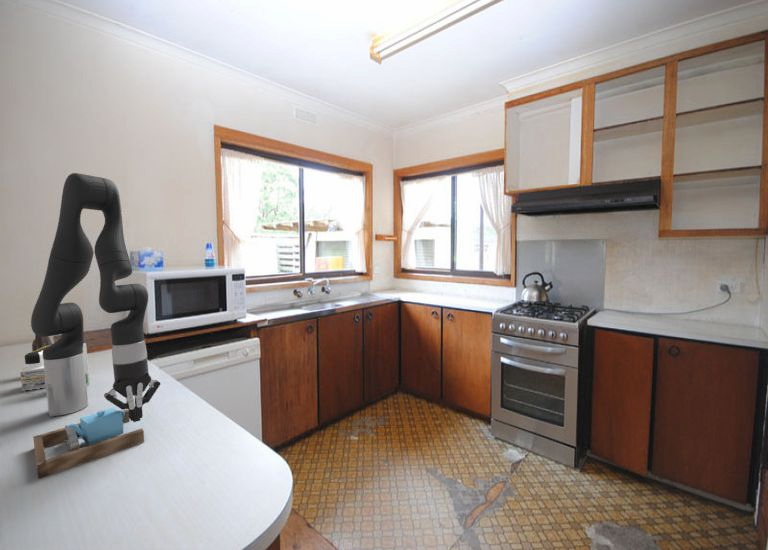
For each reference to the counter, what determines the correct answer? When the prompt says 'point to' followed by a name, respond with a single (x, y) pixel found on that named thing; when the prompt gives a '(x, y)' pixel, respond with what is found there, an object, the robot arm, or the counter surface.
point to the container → (33, 371)
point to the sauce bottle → (40, 343)
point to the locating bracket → (81, 454)
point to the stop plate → (71, 439)
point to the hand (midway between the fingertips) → (136, 420)
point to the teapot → (100, 426)
